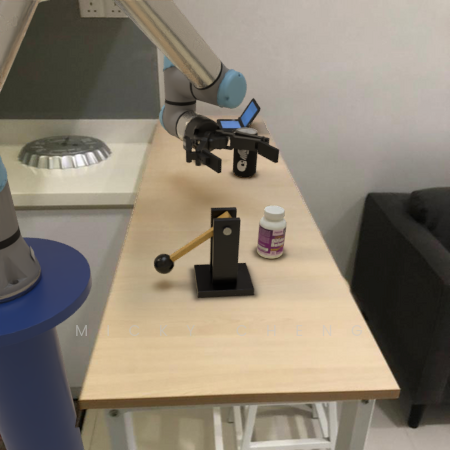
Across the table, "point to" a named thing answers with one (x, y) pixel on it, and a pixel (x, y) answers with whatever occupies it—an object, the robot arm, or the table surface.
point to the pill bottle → (272, 232)
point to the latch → (182, 250)
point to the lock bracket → (223, 260)
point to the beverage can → (245, 158)
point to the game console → (241, 118)
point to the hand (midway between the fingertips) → (249, 161)
